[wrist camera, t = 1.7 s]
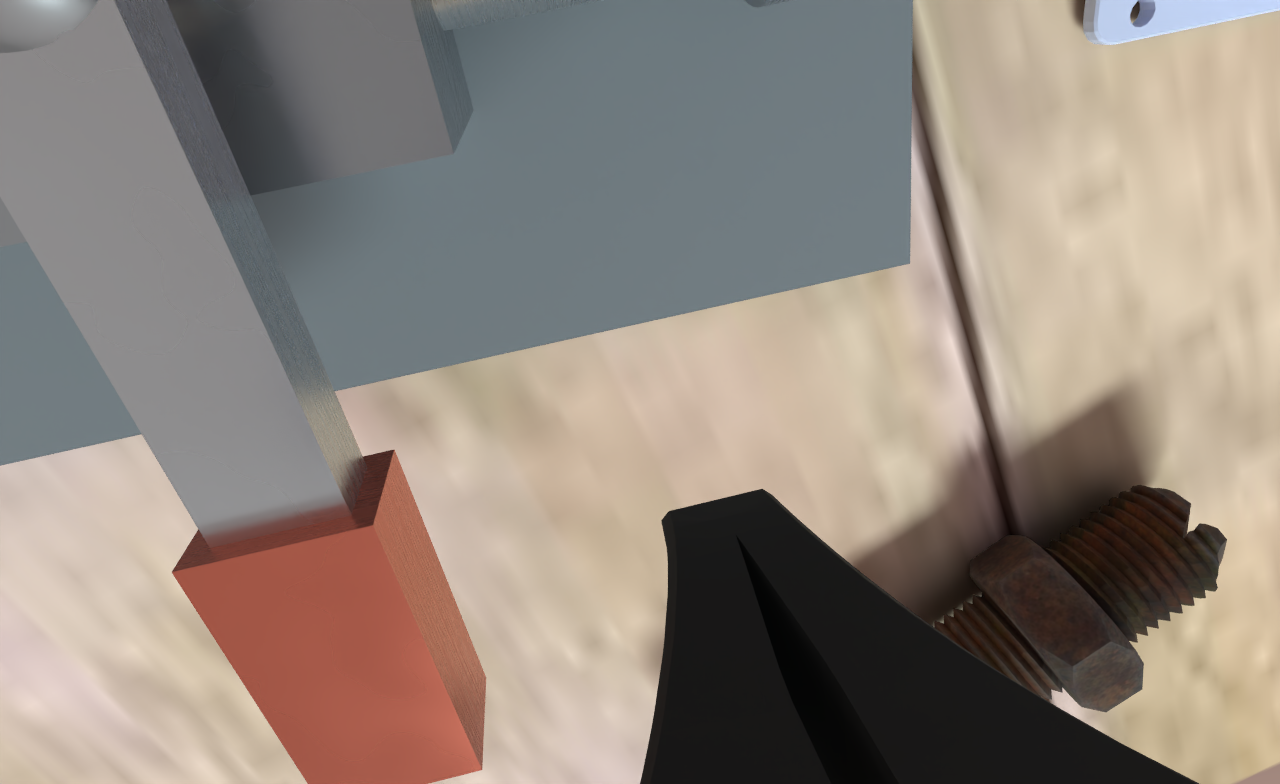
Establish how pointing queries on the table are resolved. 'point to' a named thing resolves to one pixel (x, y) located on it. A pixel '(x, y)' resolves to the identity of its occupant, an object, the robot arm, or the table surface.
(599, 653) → the table surface
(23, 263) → the mounting plate
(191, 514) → the valve lever
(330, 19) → the valve manifold
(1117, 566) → the bolt
